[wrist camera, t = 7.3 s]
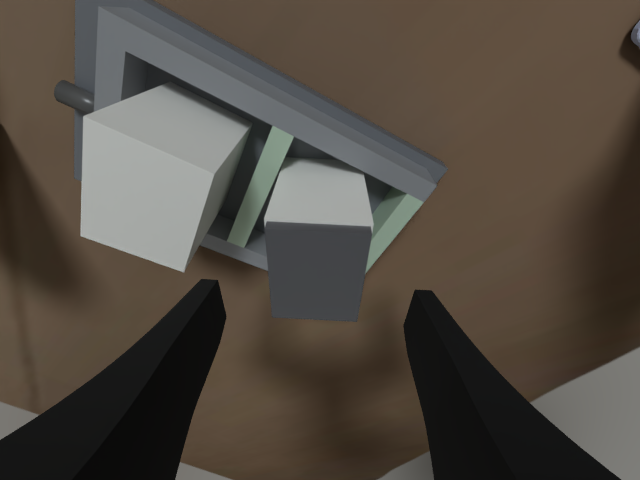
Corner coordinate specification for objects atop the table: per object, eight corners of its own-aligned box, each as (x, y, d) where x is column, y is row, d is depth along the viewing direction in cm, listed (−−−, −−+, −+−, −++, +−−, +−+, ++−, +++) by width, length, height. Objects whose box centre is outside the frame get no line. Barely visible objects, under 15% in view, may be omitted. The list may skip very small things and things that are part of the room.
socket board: (442, 161, 17) (498, 235, 11) (351, 277, 22) (357, 366, 16) (87, -37, 12) (-123, -83, 7) (82, 169, 18) (-35, 240, 12)
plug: (361, 160, 16) (375, 232, 11) (351, 237, 19) (359, 323, 13) (284, 157, 16) (261, 226, 11) (287, 234, 19) (269, 318, 14)
